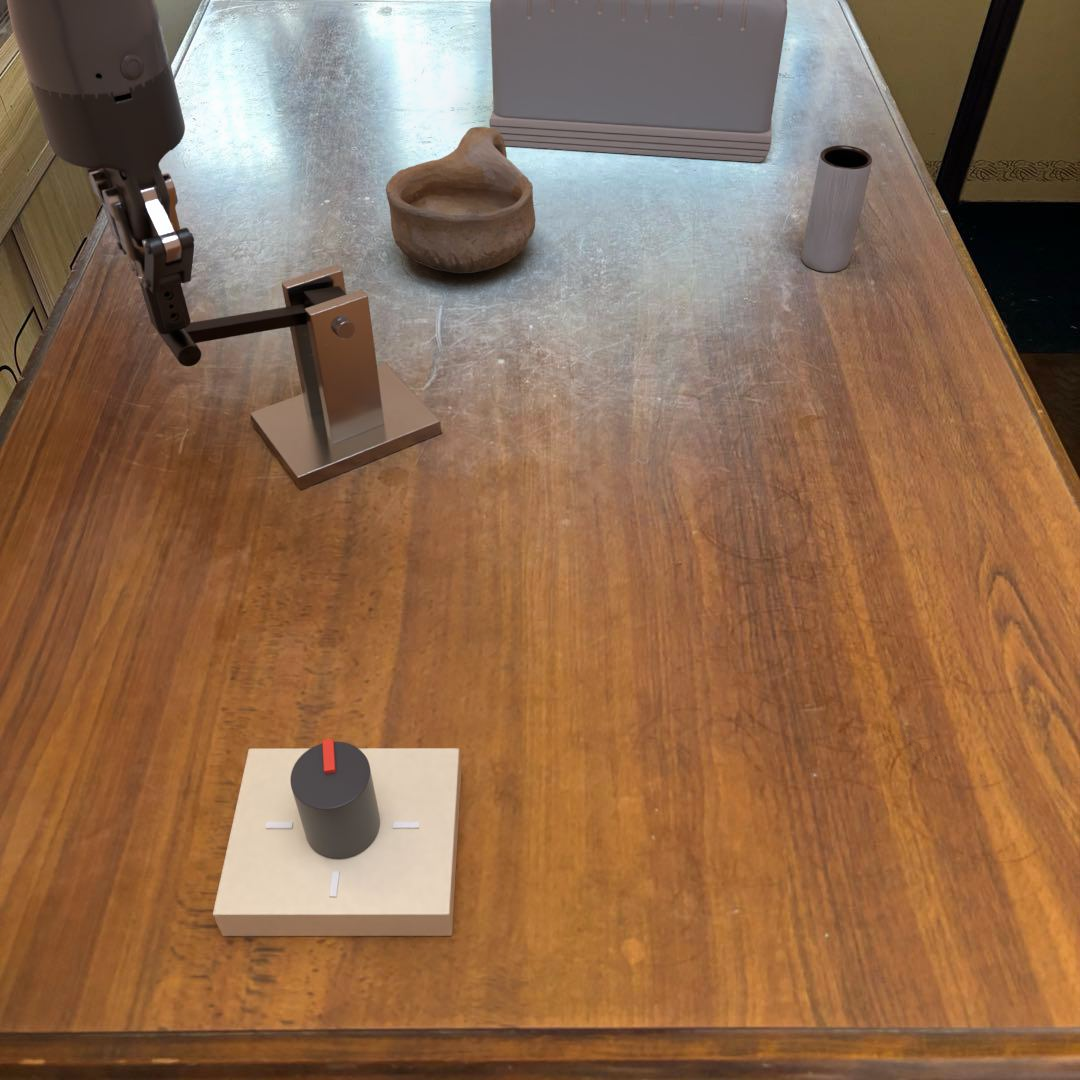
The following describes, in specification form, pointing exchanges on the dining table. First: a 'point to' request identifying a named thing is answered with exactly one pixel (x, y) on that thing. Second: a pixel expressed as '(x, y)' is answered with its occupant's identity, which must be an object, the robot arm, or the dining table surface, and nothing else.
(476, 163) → the bowl
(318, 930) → the dial panel
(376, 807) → the dial
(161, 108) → the robot arm
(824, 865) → the dining table surface
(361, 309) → the bracket
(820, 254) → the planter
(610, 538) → the dining table surface
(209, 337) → the lever
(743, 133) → the toaster
